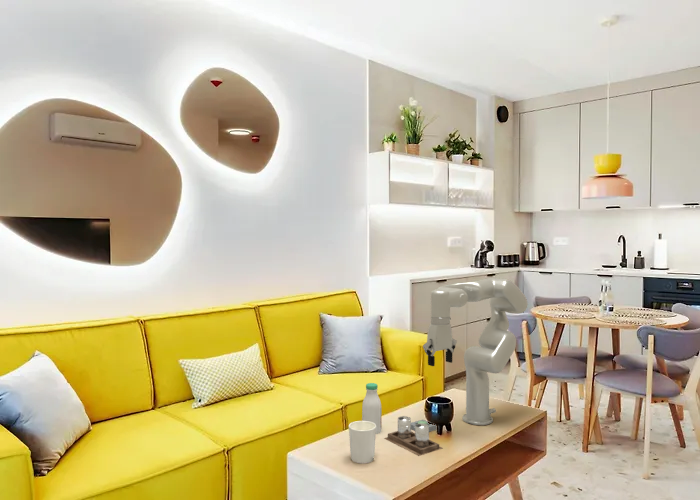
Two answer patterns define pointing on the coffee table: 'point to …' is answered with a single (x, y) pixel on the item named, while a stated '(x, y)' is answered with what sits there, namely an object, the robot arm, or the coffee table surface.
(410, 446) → the brown cruet tray
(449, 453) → the coffee table surface
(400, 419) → the cylinder
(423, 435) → the silver rounded cylinder
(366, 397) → the milk bottle
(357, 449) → the white cup
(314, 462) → the coffee table surface
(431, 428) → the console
